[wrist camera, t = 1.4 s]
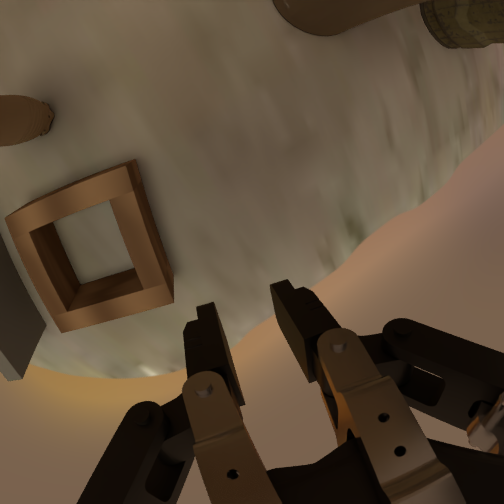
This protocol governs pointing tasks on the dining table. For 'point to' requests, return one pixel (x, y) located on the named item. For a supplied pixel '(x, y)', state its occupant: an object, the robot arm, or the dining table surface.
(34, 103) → the handle
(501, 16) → the thermos
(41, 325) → the slate wall
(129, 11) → the dining table surface
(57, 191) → the walnut block
